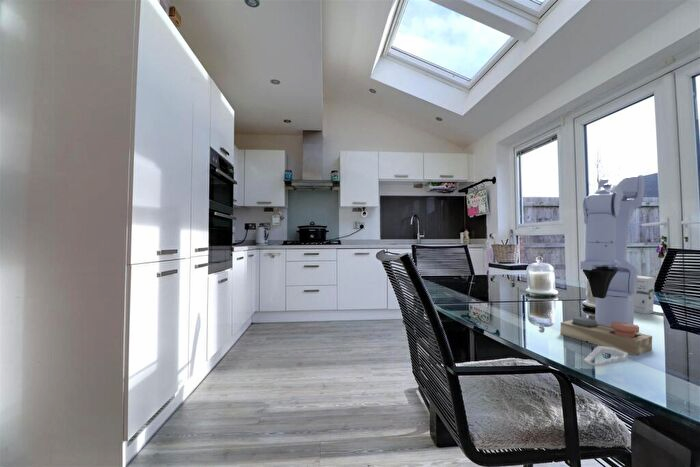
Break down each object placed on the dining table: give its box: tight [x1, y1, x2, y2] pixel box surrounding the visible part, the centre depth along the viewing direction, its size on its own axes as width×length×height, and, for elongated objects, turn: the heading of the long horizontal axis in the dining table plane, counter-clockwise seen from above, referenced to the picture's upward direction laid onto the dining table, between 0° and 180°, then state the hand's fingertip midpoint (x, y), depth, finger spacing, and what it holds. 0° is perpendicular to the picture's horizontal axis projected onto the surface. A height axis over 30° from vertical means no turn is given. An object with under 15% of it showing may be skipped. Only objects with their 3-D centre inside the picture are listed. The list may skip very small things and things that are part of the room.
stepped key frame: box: [583, 345, 629, 367], centre depth 64 cm, size 13×5×2 cm, turn 128°
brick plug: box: [611, 322, 640, 338], centre depth 70 cm, size 5×5×4 cm
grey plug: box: [572, 316, 597, 328], centre depth 77 cm, size 5×5×4 cm
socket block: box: [559, 319, 653, 357], centre depth 74 cm, size 8×15×3 cm, turn 28°
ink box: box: [630, 274, 655, 315], centre depth 105 cm, size 9×5×12 cm, turn 27°
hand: (598, 297), depth 76 cm, fingers closed
